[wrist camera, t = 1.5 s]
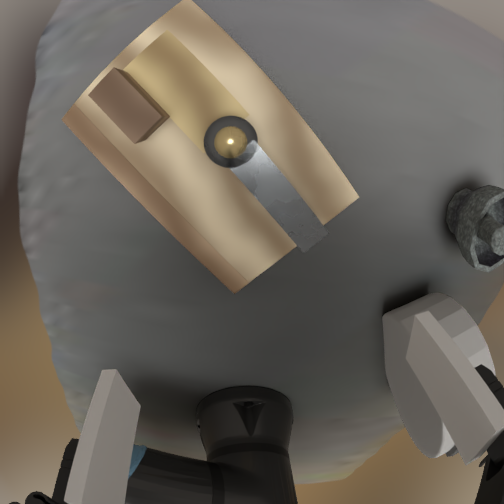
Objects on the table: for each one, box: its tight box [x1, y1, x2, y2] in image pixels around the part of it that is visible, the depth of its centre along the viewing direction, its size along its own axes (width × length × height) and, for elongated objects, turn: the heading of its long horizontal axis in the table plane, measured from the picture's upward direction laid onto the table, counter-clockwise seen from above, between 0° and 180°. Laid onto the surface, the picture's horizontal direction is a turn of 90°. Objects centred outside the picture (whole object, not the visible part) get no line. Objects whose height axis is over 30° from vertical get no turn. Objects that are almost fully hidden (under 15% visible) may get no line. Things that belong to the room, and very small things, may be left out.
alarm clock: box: [382, 292, 496, 458], centre depth 30 cm, size 21×8×20 cm, turn 19°
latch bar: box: [204, 116, 329, 253], centre depth 24 cm, size 13×4×4 cm, turn 40°
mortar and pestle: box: [446, 185, 504, 272], centre depth 25 cm, size 11×9×12 cm
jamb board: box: [62, 0, 359, 294], centre depth 24 cm, size 16×25×5 cm, turn 40°
